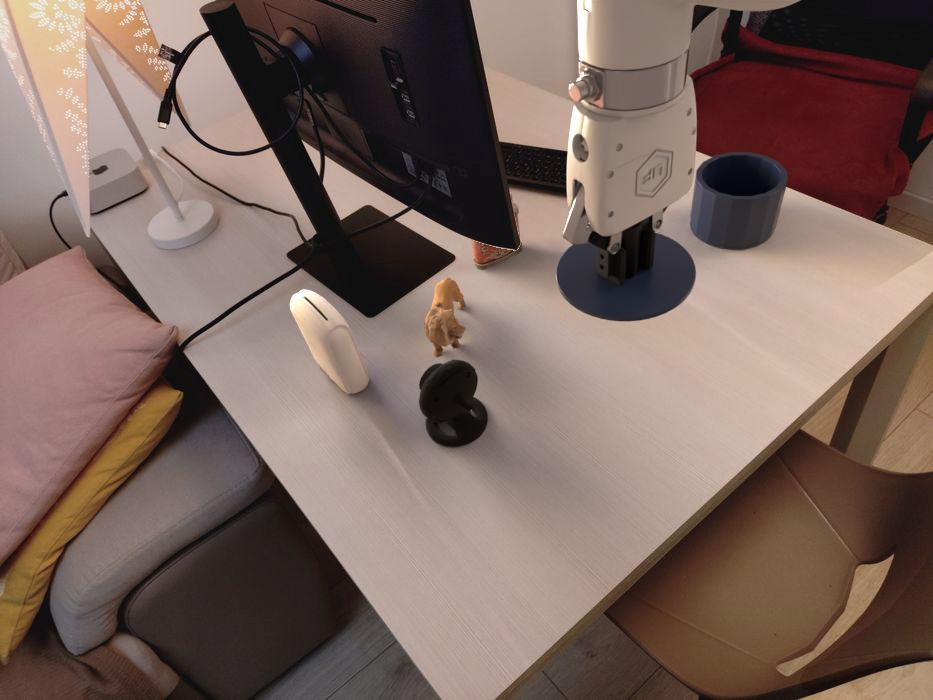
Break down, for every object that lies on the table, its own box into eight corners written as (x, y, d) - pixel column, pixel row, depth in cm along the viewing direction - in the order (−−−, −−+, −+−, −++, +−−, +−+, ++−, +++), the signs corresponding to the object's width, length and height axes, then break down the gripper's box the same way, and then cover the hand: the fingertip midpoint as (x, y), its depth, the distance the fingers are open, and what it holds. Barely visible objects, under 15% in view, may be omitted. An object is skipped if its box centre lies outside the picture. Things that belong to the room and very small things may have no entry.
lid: (725, 282, 57) (736, 222, 52) (617, 348, 53) (619, 291, 49) (629, 221, 65) (631, 164, 60) (530, 275, 61) (524, 220, 57)
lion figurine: (474, 370, 81) (463, 321, 74) (433, 377, 81) (419, 328, 74) (465, 294, 91) (455, 245, 84) (429, 300, 91) (416, 251, 84)
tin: (792, 225, 90) (807, 174, 84) (733, 260, 87) (743, 210, 81) (729, 192, 98) (738, 143, 91) (672, 223, 95) (678, 174, 88)
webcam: (461, 388, 79) (447, 333, 72) (502, 420, 75) (492, 365, 67) (413, 425, 76) (394, 372, 69) (453, 461, 72) (437, 409, 64)
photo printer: (311, 359, 86) (278, 293, 77) (337, 342, 88) (308, 275, 79) (348, 401, 80) (317, 334, 71) (376, 382, 82) (349, 315, 73)
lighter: (481, 273, 93) (471, 217, 86) (470, 261, 96) (460, 206, 88) (527, 251, 95) (521, 195, 88) (515, 240, 97) (508, 184, 90)
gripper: (575, 135, 40) (581, 332, 54) (755, 47, 45) (719, 250, 58) (509, 98, 45) (530, 288, 59) (678, 22, 50) (661, 215, 63)
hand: (624, 268), depth 58 cm, fingers closed on lid, 2 cm apart
